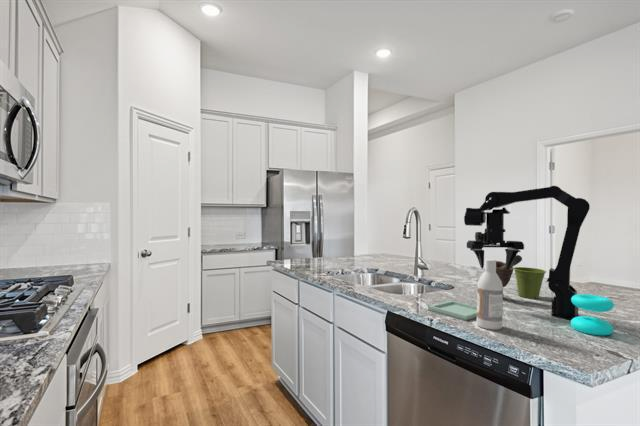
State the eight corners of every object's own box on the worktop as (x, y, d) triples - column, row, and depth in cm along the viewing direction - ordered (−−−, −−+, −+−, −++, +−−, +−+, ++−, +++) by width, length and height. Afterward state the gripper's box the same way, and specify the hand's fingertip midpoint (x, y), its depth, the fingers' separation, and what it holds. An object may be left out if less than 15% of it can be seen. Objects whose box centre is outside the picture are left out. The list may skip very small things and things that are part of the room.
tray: (488, 313, 121) (488, 309, 121) (465, 320, 112) (465, 316, 112) (451, 304, 132) (451, 300, 132) (428, 310, 123) (428, 305, 123)
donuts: (614, 303, 98) (569, 297, 104) (613, 339, 98) (568, 331, 104) (614, 297, 106) (572, 291, 112) (613, 330, 106) (572, 323, 112)
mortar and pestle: (516, 301, 142) (530, 254, 136) (506, 306, 136) (519, 257, 131) (489, 288, 150) (501, 243, 145) (478, 292, 145) (490, 246, 140)
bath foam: (475, 321, 112) (477, 257, 111) (500, 324, 109) (502, 259, 109) (477, 328, 105) (478, 260, 105) (503, 331, 103) (505, 262, 103)
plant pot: (516, 298, 143) (516, 270, 143) (509, 292, 154) (510, 266, 154) (549, 301, 140) (550, 272, 140) (540, 294, 151) (541, 268, 151)
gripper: (509, 225, 140) (509, 265, 140) (461, 225, 140) (461, 265, 140) (525, 226, 129) (524, 270, 129) (472, 226, 129) (472, 269, 129)
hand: (494, 268), depth 132 cm, fingers open, 9 cm apart
